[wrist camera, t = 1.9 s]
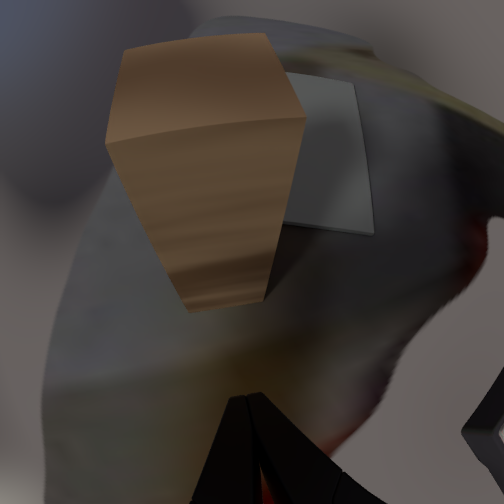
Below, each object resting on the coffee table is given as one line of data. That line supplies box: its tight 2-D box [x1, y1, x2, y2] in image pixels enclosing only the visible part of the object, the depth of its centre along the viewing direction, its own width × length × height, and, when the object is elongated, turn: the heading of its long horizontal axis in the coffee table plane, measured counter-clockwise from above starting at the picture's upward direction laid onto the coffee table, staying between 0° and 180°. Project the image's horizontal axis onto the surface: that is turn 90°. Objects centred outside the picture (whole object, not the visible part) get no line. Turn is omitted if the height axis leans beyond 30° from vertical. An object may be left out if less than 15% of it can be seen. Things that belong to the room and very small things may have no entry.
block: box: [105, 33, 307, 313], centre depth 14 cm, size 4×4×14 cm
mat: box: [282, 72, 374, 236], centre depth 25 cm, size 18×14×1 cm
